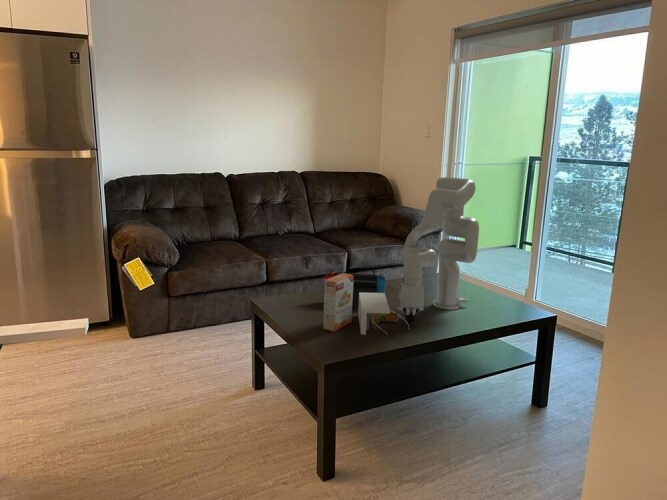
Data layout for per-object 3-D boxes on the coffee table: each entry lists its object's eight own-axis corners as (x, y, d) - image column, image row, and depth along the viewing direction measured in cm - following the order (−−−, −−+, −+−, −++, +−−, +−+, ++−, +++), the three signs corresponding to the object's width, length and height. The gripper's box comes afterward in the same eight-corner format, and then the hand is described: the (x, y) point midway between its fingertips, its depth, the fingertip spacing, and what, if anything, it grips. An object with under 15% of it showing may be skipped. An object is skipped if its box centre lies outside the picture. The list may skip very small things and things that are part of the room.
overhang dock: (383, 315, 230) (384, 293, 228) (388, 335, 209) (389, 309, 207) (358, 315, 230) (359, 292, 228) (360, 334, 209) (361, 309, 207)
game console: (384, 303, 247) (386, 273, 244) (384, 308, 241) (385, 277, 238) (325, 300, 250) (326, 270, 247) (323, 304, 244) (324, 274, 241)
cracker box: (335, 332, 210) (336, 282, 206) (322, 329, 213) (323, 279, 209) (352, 322, 222) (354, 274, 217) (340, 319, 225) (341, 272, 220)
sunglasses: (395, 318, 228) (396, 308, 226) (413, 335, 215) (414, 325, 213) (366, 322, 222) (367, 312, 221) (382, 340, 210) (383, 329, 208)
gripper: (428, 278, 219) (426, 320, 223) (392, 277, 219) (390, 319, 223) (432, 283, 212) (429, 326, 216) (395, 283, 212) (393, 326, 216)
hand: (409, 323), depth 220 cm, fingers closed
